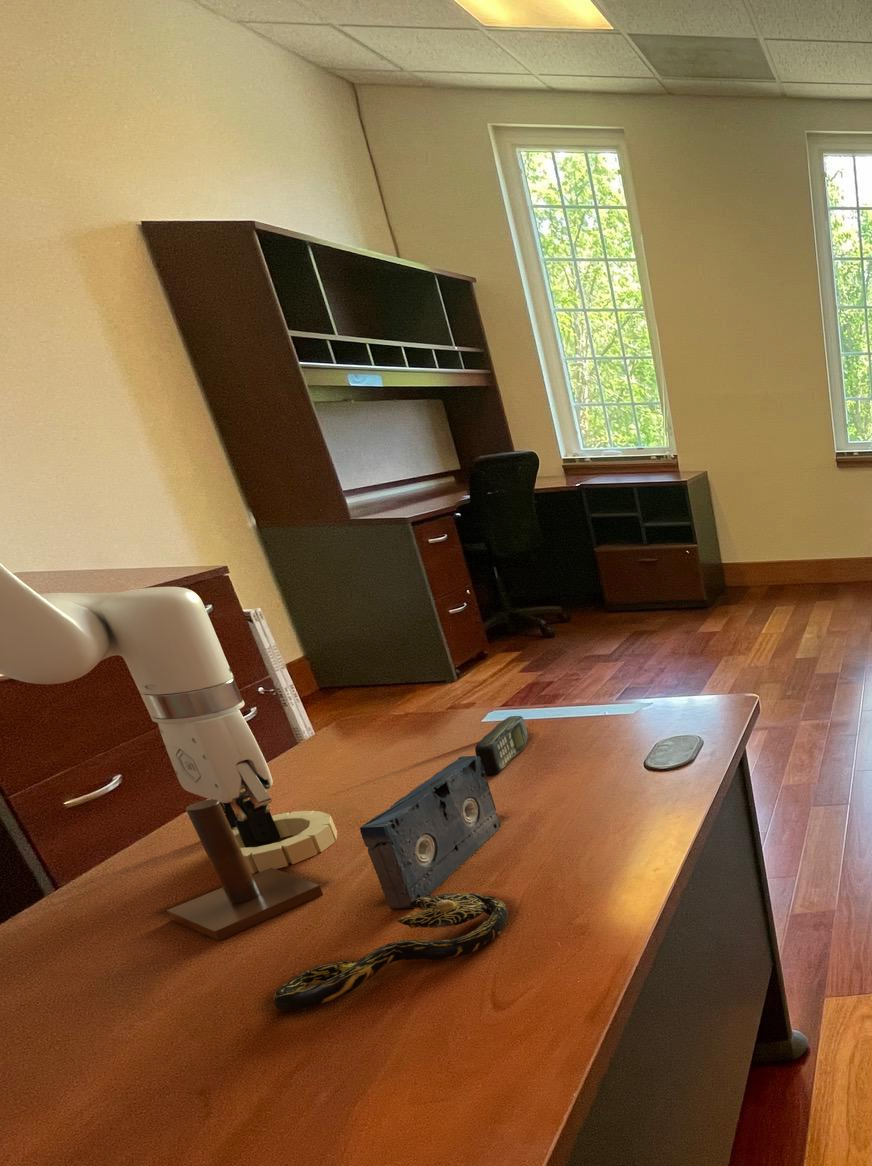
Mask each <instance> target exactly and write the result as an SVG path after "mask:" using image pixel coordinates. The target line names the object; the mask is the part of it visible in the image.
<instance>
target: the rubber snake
mask: <svg viewBox="0 0 872 1166" xmlns="http://www.w3.org/2000/svg"><path fill="white" fill-rule="evenodd" d="M410 905H411V907H415V908H414V909H417V910H421V911H418V912H414V913H412V914H408V915H404V916H402V917H399V918H397V923H399V924H402V925H404V926H408V927H409V928H411V929H417V928H421V929H422V928H426V929H438V928H447V927H455V926H458V925H462V924H465V923H467V922H470V921H472V920H474V919H476V918H478V917H480V916H481V915H482V914H483V913H484V914H487V915H488V916H489V917H488V919H486V920H484V921H483V922H482V923H481V924H480V925H478V926H477V927H476V928H475V929H473V930H472V931H471V932H469V933H467V934H465V935H462V936H459V937H455V938H452V939H444V940H443V939H442V940H423V939H422V940H421V939H417V940H416V939H412V940H411V939H408V940H407V939H401V940H397V941H393V942H389V943H386V944H384V945H382V946H379V947H377V948H375V949H374V950H372V951H370V952H368V953H367V954H366V955H364V956H363V957H361V958H360V959H359V960H358V961H356V962H354V961H339V962H338V961H336V962H331V963H326V964H323V965H322V964H321V965H318V966H316V967H313V968H311V969H308V970H305V971H303V972H301V973H299V974H298V975H296V976H294V977H293V978H292V979H290V980H288V981H287V982H286V983H285V984H283V985H281V986H280V987H279V988H278V989H277V990H276V992H275V993H274V994H273V1004H274V1007H275V1008H276V1009H278V1010H283V1011H287V1012H290V1011H298V1010H306V1009H308V1008H312V1007H314V1006H318V1005H321V1004H324V1003H327V1002H329V1001H332V1000H336V999H337V998H340V997H342V996H345V995H348V994H349V993H351V992H352V991H354V990H356V989H358V988H359V987H361V986H362V985H363V984H365V983H366V982H367V981H368V980H370V978H372V977H373V976H374V975H376V974H378V972H379V971H380V970H382V969H383V968H385V967H387V966H389V965H390V964H392V963H395V962H398V961H403V960H404V961H411V960H416V961H417V960H423V959H424V960H428V961H441V960H447V959H452V958H456V957H459V956H464V955H467V954H470V953H474V952H476V951H478V950H479V949H481V947H483V946H484V945H486V944H489V943H490V942H493V940H494V939H496V938H497V937H498V936H499V935H500V934H501V932H502V931H503V929H504V927H505V925H506V923H507V920H508V916H509V912H508V911H509V910H508V907H507V906H506V904H505V903H504V901H502V900H500V899H497V898H496V897H494V896H491V895H486V894H482V893H477V892H473V893H470V892H461V893H453V892H452V893H442V894H435V895H428V896H426V897H421V898H417V899H414V900H412V901H411V902H410Z"/></svg>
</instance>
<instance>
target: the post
mask: <svg viewBox="0 0 872 1166" xmlns="http://www.w3.org/2000/svg"><path fill="white" fill-rule="evenodd" d="M185 811H186V813H187V815H188V817H189V819H190V821H191V823H192V826H193V828H194V830H195V832H196V834H197V836H198V838H199V841H200V843H201V845H202V847H203V850H204V851H205V853H206V856H207V858H208V859H209V862H210V864H211V867H212V869H213V870H214V873H215V874H216V877H217V879H218V881H219V883H220V885H221V887H220V888H218V889H215V890H213V891H210V892H208V893H205V894H203V895H200V896H198V897H195V898H193V899H191V900H188V901H186V902H184V903H181V904H179V905H176V906H173V907H171V908H169V909H166V912H167V914H168V916H169V918H170V920H171V921H173V922H176V923H178V924H180V925H182V926H184V927H186V928H188V929H191V930H193V931H195V932H198V933H200V934H203V935H204V936H207V937H209V938H210V939H211V938H212V939H213V940H216V941H218V942H221V941H223V940H226V939H228V938H230V937H232V936H234V935H237V934H239V933H241V932H244V931H246V930H248V929H250V928H252V927H254V926H257V925H259V924H261V923H263V922H266V921H267V920H270V919H272V918H274V917H277V916H279V915H281V914H283V913H286V912H288V911H290V910H293V909H294V908H296V907H299V906H301V905H302V904H306V903H307V902H309V901H313V900H315V899H316V898H318V897H321V896H324V893H323V890H322V888H321V885H319V884H317V883H314V882H311V881H308V880H307V879H303V878H301V877H298V876H295V875H292V874H290V873H287V872H284V871H281V870H279V869H274V868H269V869H267V870H264V871H262V872H260V873H259V872H256V873H254V874H251V871H250V869H249V867H248V865H247V862H246V860H245V858H244V856H243V853H242V851H241V849H240V847H239V845H238V842H237V840H236V838H235V836H234V833H233V831H232V829H231V827H230V825H229V822H228V820H227V818H226V816H225V813H224V811H223V809H222V807H221V805H220V802H219V801H218V800H211V799H204V800H201V801H197V802H194V803H191V804H189V805H187V806H186V808H185Z"/></svg>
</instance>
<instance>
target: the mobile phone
mask: <svg viewBox="0 0 872 1166" xmlns="http://www.w3.org/2000/svg"><path fill="white" fill-rule="evenodd" d="M528 738H529V737H528V730H527V726H526V722H525V719H524V717H523V716H522V715H509V716H508V717H506V718H505V719H503V720H502V721H500V722H499V723H497V725H496V726H495V727H494V728H492V730H491V731H490V732H488V733H487V734H486V735H484V736H483V737H482V738H481V739H480V740H479V741H478V742H477V744H476V745H475V748H474V751H475V756H479V757H480V758H481V760H480V761H481V762H482V764H483V767H484V770H485V775H486V776H493V775H498V774H499V773H501V772H502V771H503V770H504V768H505V767H506V766H507V765H508V764H509V763H511V761H512V760H513V759H514V758H515V757H516V756H517V755H519V754H520V753H521V752H523V750H524V749H525V747H526V746H527V743H528V742H527V741H528Z"/></svg>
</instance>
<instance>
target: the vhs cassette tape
mask: <svg viewBox="0 0 872 1166" xmlns="http://www.w3.org/2000/svg"><path fill="white" fill-rule="evenodd" d="M480 760H481V758H480V757H479V756H476V755H465V756H459V757H458V758H457V759H456V760H454V761H453V762H450V764H447V766H445V767H444V768H442V769H441V770H440V771H438V772H436V773H434V774H433V775H432V776H431V777H429V778H428V779H427V780H425V781H424V782H422V783H420V784H419V785H418V786H416V787H415V788H413V789H412V790H410V792H409V793H406V795H404V796H403V797H401V798H399V799H398V800H397V801H396V802H394V803H393V804H392V805H391V806H390V808H387V809H386V810H385V811H382V812H381V813H379V814H377V815H376V816H374V817H373V818H371V819H370V820H368V821H367V822H366V823H365V824H363V825H361V826H360V827H359V830H360V834H361V838H362V840H363V843H364V845H365V847H366V848H367V853H368V857H369V858H370V861H371V863H372V866H373V869H374V871H375V873H376V875H377V879H378V881H379V884H380V887H381V890H382V892H383V894H384V898H385V900H386V902H387V905H388V907H389V908H390V909H397V910H398V909H399V910H400V909H411V908H412V909H416V908H415V907H411V905H410V902H411V901H412V900H414V899H417V898H421V897H426V896H430V895H431V894H432V893H433V892H434V891H435V890H436V889H437V888H439V886H440V885H441V884H442V883H444V882H445V881H446V880H447V879H448V878H449V877H450V876H451V875H452V874H453V873H454V872H455V871H457V870H458V868H459V867H460V866H461V865H463V863H464V862H466V861H467V860H468V859H469V858H470V857H471V856H472V855H474V854H475V852H477V851H478V850H479V848H481V847H482V846H483V845H484V844H485V843H486V842H487V841H488V840H489V839H490V838H492V836H493V835H494V834H495V833H497V831H499V829H500V828H501V826H502V825H501V821H500V819H499V815H498V813H497V812H496V811H497V808H496V804H495V802H494V797H493V794H492V791H491V789H490V784H489V782H488V778H487V775H485V770H484V767H483V764H482V762H481V761H480Z"/></svg>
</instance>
